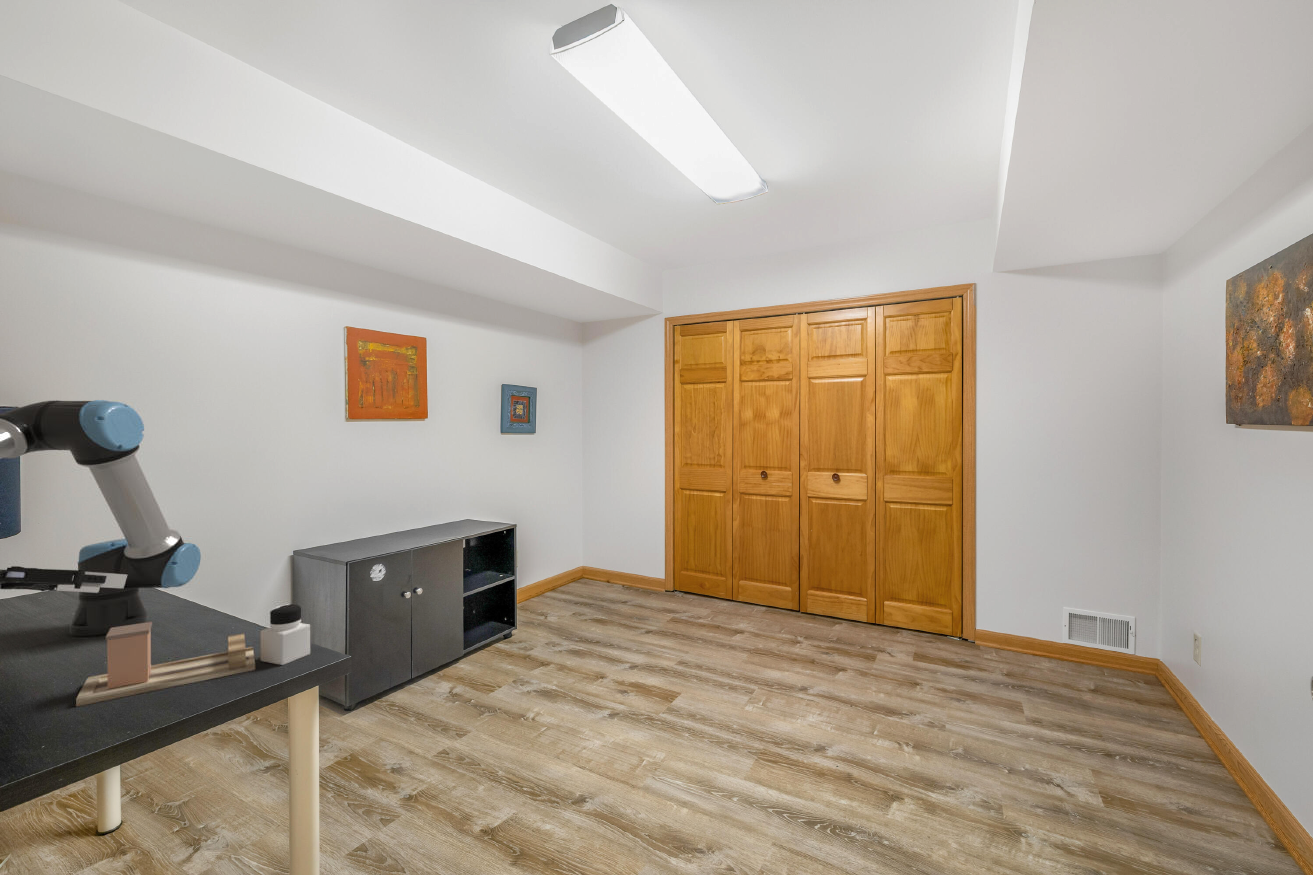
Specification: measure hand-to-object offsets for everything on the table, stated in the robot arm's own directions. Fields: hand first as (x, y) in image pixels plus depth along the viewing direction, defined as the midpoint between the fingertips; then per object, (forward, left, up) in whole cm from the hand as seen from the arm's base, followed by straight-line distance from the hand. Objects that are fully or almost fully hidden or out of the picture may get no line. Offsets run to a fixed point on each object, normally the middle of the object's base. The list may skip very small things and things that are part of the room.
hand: (112, 583), depth 119 cm
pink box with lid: (+4, +3, -20) cm, 20 cm away
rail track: (+4, +10, -21) cm, 23 cm away
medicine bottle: (+6, +30, -21) cm, 37 cm away
